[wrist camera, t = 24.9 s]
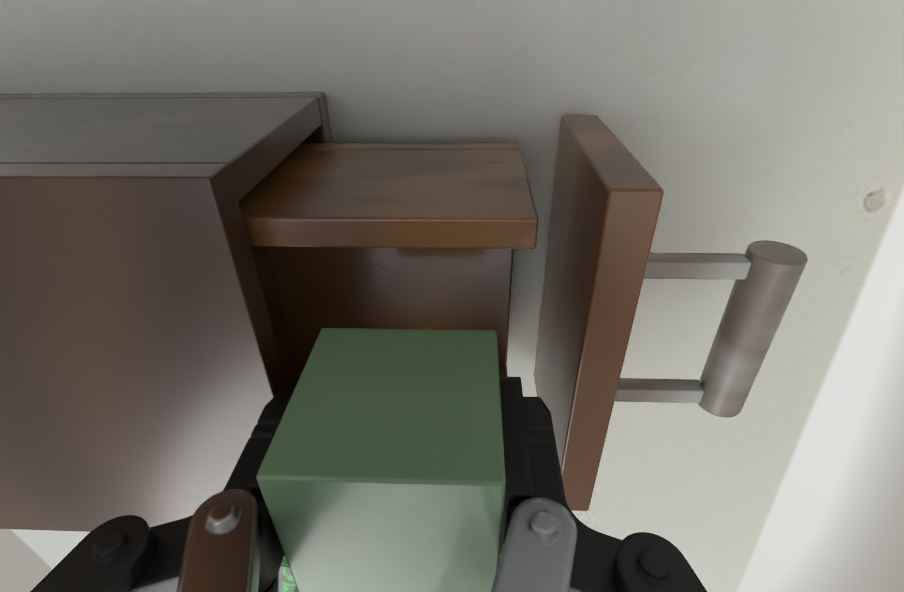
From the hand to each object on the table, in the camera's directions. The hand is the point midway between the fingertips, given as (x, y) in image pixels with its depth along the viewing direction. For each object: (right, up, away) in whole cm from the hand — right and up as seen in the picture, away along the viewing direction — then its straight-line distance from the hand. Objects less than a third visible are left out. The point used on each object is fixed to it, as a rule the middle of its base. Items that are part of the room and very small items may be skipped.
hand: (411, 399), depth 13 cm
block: (0, 0, 0) cm, 0 cm away
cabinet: (-10, +5, +8) cm, 13 cm away
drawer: (+2, +4, +6) cm, 8 cm away
